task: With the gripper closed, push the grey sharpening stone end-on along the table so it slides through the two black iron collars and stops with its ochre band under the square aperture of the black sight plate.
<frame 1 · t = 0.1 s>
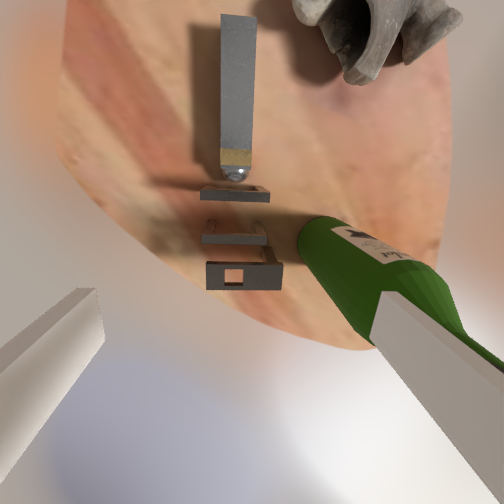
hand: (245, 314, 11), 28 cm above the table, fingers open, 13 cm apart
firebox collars: (234, 221, 38), on the table
wine bottle: (321, 241, 40), on the table
grey sharpening stone: (236, 107, 32), on the table
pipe: (360, 36, 31), on the table
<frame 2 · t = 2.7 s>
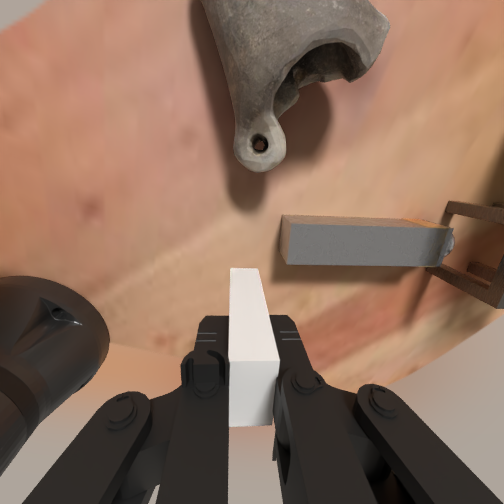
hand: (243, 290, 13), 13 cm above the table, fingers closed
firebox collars: (480, 238, 28), on the table
grey sharpening stone: (350, 234, 26), on the table
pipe: (274, 45, 20), on the table
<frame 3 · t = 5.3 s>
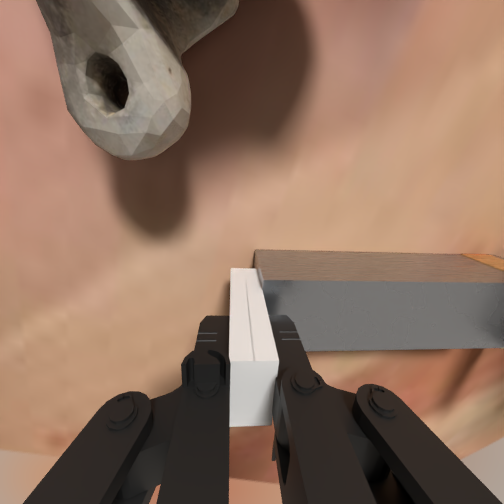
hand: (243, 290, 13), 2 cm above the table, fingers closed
grey sharpening stone: (373, 281, 16), on the table
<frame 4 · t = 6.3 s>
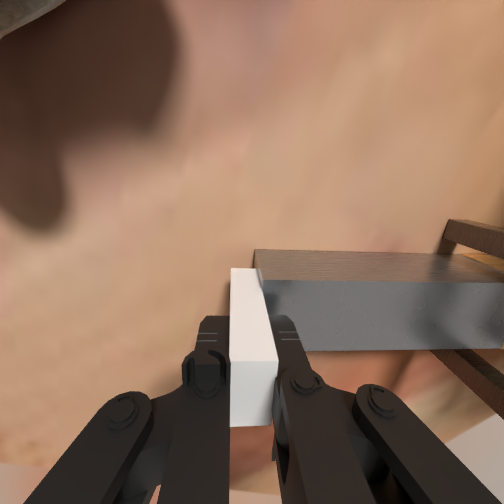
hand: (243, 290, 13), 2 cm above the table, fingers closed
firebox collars: (502, 281, 16), on the table
grey sharpening stone: (373, 281, 16), on the table, touching gripper
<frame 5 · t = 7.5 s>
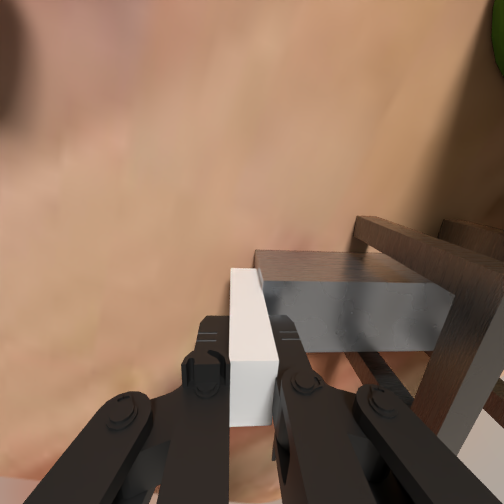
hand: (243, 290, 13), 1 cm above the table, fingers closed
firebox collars: (424, 281, 16), on the table
grey sharpening stone: (374, 281, 15), on the table, touching gripper
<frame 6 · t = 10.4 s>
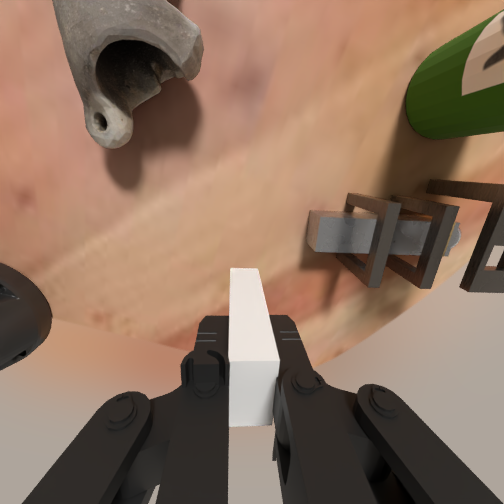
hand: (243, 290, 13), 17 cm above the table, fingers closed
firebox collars: (384, 228, 30), on the table
wine bottle: (443, 95, 26), on the table
grey sharpening stone: (368, 228, 30), on the table
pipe: (142, 40, 23), on the table
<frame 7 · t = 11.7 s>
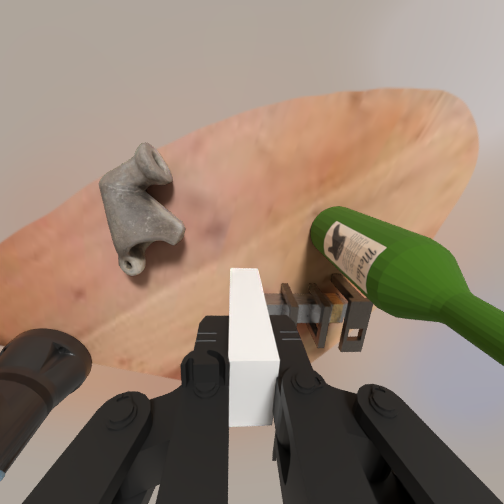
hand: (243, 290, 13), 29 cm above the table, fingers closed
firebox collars: (307, 302, 48), on the table
wine bottle: (333, 230, 43), on the table
grey sharpening stone: (297, 302, 48), on the table
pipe: (150, 210, 39), on the table
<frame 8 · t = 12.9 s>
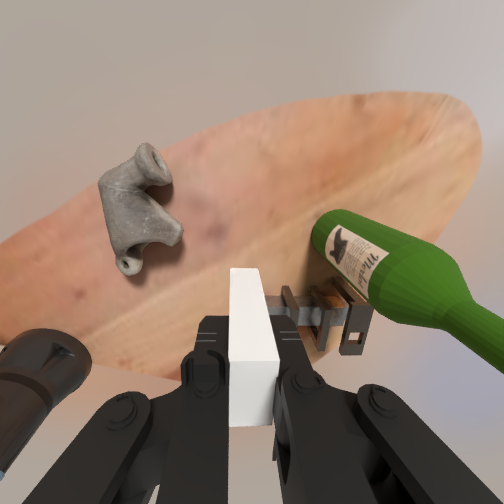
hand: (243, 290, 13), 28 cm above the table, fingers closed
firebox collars: (307, 304, 48), on the table
wine bottle: (334, 233, 43), on the table
grey sharpening stone: (297, 304, 48), on the table
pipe: (149, 210, 39), on the table
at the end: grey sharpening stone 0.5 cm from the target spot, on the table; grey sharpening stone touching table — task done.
